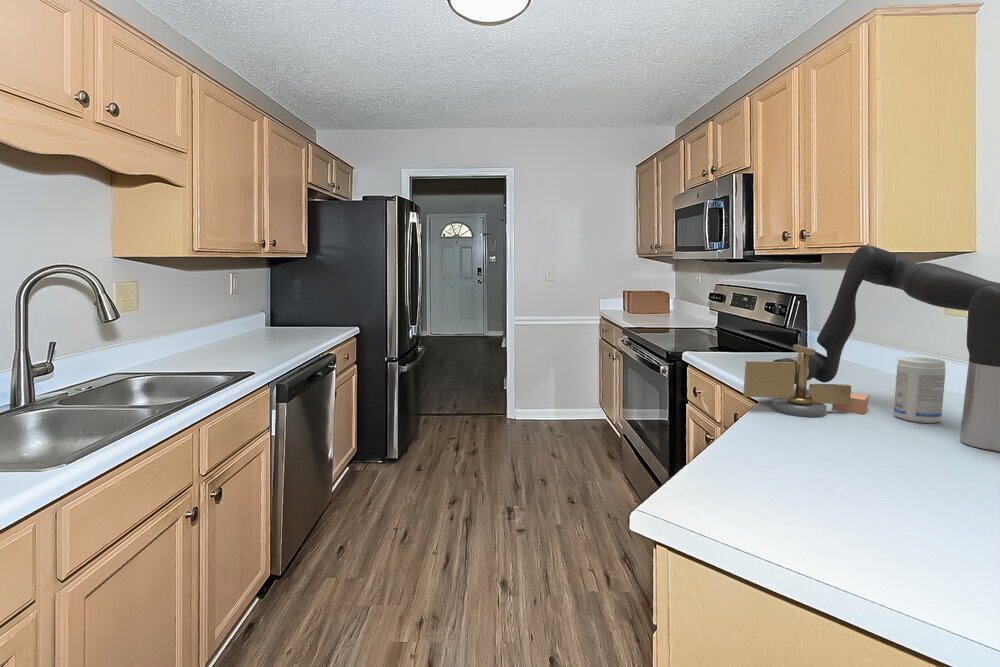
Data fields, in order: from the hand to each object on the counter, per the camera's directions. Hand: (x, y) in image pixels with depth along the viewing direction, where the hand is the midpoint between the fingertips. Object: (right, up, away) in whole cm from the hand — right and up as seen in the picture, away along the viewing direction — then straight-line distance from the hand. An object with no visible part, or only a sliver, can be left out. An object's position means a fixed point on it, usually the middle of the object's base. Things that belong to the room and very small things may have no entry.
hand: (752, 378), depth 148 cm
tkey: (+10, -6, -1) cm, 12 cm away
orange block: (+26, -8, +2) cm, 27 cm away
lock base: (+11, -8, -1) cm, 14 cm away
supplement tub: (+37, -10, -6) cm, 39 cm away
